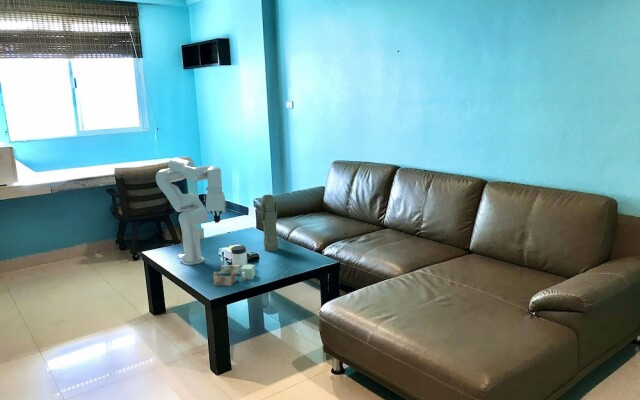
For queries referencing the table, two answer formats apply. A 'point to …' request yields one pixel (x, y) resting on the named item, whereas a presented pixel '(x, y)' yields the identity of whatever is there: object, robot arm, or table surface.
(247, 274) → the block
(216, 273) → the tunnel
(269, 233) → the olive brown statue
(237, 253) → the jar
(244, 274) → the goal posts
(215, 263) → the table surface
